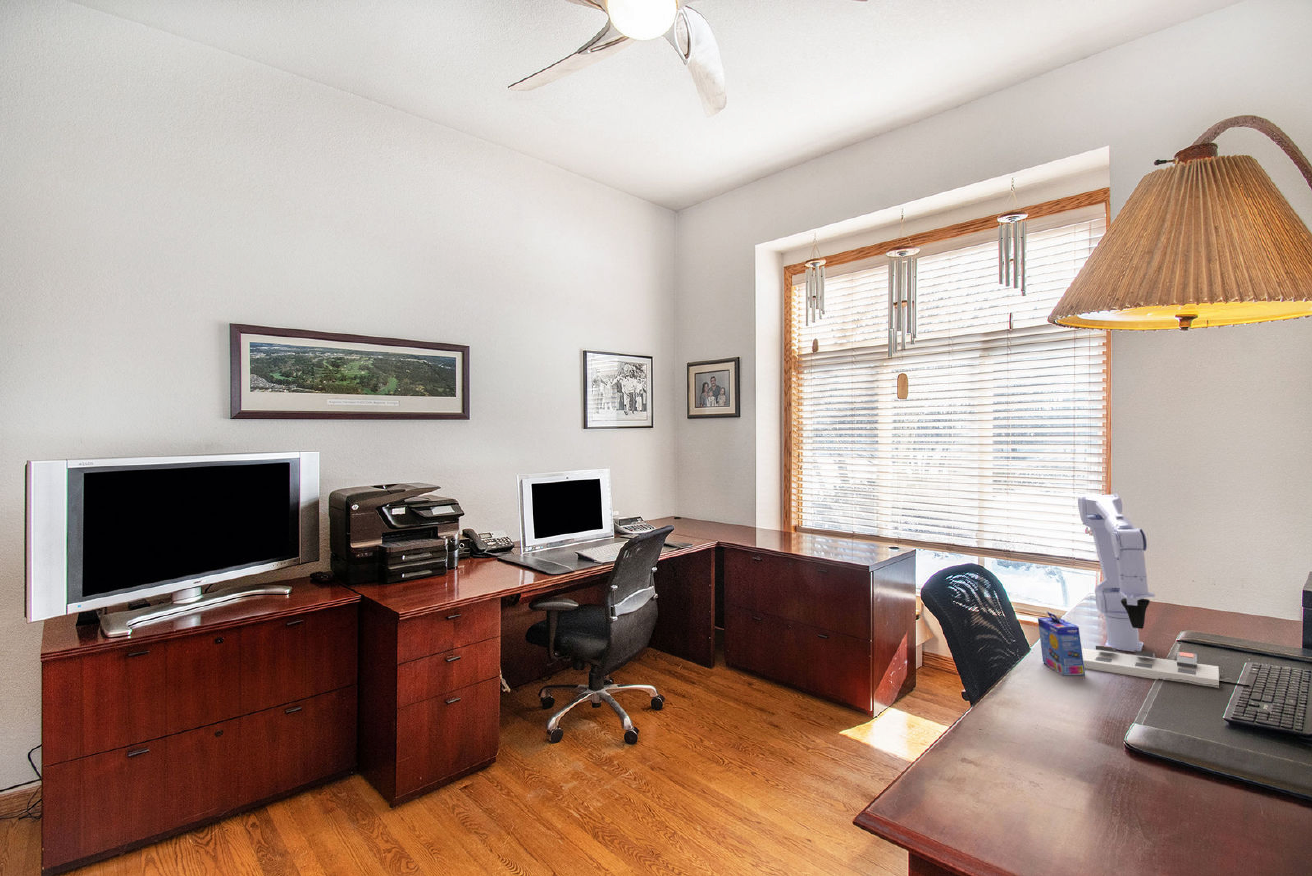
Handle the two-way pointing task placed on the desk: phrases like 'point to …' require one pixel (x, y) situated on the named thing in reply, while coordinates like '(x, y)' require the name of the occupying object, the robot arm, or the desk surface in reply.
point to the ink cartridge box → (1061, 645)
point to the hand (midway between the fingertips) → (1138, 627)
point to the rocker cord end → (1187, 659)
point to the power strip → (1148, 667)
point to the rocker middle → (1144, 653)
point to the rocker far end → (1106, 648)
